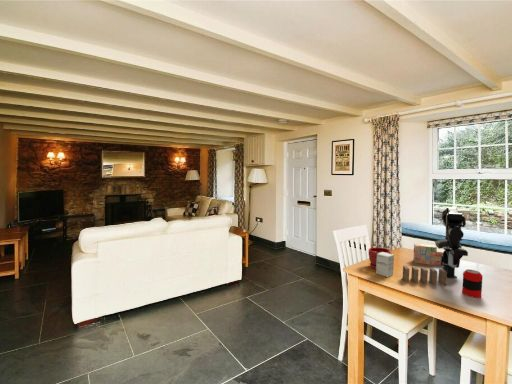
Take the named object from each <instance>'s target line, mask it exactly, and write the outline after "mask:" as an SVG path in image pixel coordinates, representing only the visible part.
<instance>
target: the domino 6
mask: <svg viewBox="0 0 512 384" xmlns="http://www.w3.org/2000/svg"><path fill="white" fill-rule="evenodd" d="M449 252H451V251H449ZM448 265H450V266H451V267H453V268H455V269H457V268H456V266H457V264H456V265H453V258H452V255H451V254H450V253H449V258H448Z"/></svg>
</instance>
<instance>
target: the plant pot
mask: <svg viewBox="0 0 512 384" xmlns="http://www.w3.org/2000/svg"><path fill="white" fill-rule="evenodd" d="M381 252H385V253H389V254H391V253H392V251H391V249H388V248H385V247H370V248H369V249H368V259H369V262H370V263H369V265H370V267H371V268H373V269H374V270H376V263H377V254H378V253H381Z"/></svg>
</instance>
